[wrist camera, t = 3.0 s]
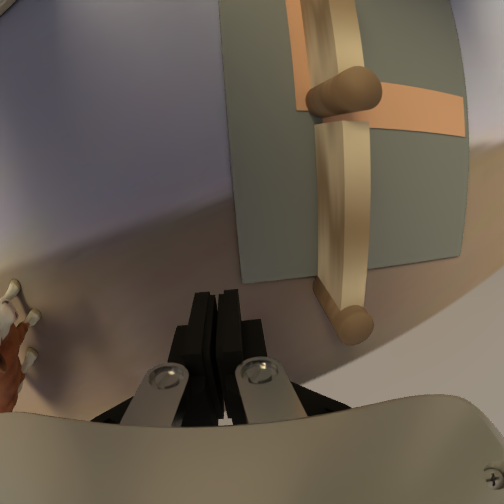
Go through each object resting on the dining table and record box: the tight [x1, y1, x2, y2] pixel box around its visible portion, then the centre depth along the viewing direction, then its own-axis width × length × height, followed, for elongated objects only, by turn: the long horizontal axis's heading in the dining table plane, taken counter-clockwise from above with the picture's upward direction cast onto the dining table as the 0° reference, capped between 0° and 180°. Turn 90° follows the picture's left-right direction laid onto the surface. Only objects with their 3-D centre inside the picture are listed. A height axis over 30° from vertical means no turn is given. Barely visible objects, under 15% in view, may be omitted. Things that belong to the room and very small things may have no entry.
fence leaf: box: [313, 121, 374, 345], centre depth 14 cm, size 10×2×5 cm, turn 4°
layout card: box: [219, 0, 469, 284], centre depth 15 cm, size 20×16×1 cm
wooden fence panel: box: [300, 0, 382, 118], centre depth 11 cm, size 11×2×5 cm, turn 4°
